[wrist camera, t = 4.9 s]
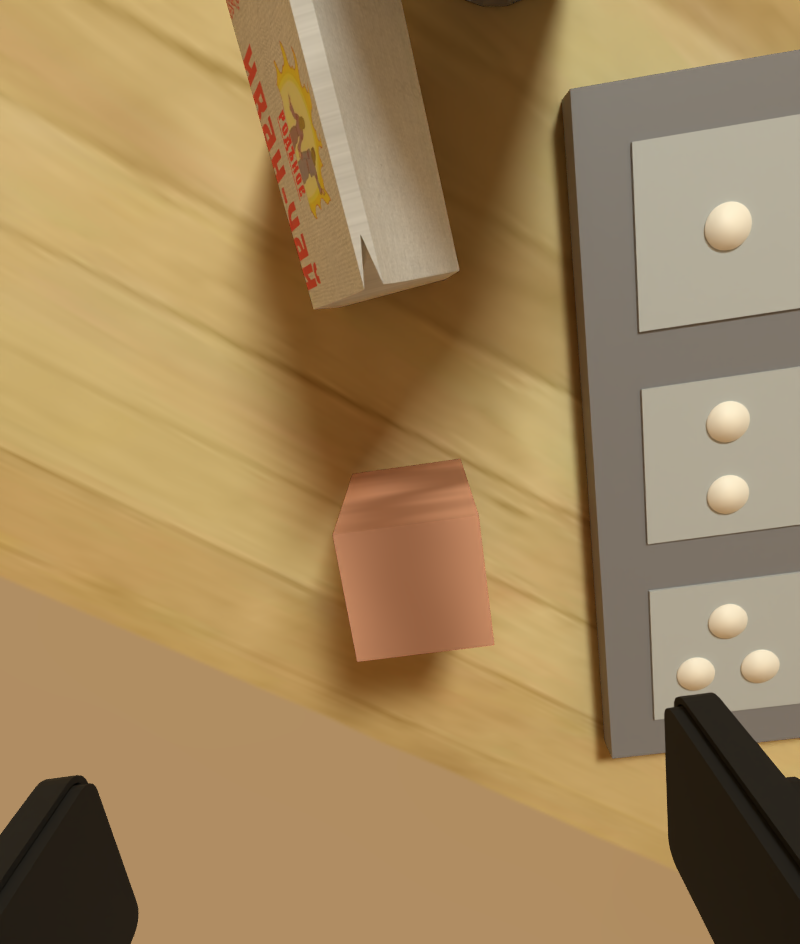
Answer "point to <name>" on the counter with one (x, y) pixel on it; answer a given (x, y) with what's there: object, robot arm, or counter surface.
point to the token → (413, 562)
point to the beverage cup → (493, 2)
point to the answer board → (691, 388)
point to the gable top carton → (347, 144)
